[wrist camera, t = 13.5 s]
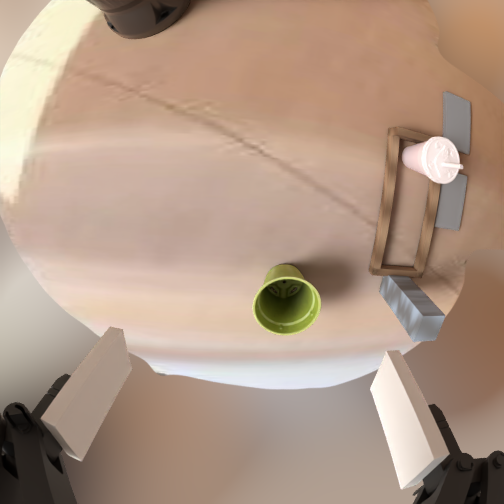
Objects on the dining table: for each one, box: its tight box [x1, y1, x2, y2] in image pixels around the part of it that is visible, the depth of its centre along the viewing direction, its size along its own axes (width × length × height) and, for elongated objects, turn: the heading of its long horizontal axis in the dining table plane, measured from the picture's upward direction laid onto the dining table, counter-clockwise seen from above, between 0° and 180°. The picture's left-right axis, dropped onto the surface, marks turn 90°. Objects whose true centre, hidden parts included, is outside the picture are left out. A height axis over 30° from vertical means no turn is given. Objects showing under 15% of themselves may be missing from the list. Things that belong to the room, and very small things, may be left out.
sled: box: [369, 127, 445, 342], centre depth 33 cm, size 27×10×15 cm, turn 176°
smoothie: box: [402, 137, 463, 184], centre depth 31 cm, size 6×6×14 cm
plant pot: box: [253, 265, 321, 335], centre depth 42 cm, size 9×9×9 cm
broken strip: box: [434, 91, 471, 231], centre depth 36 cm, size 24×6×1 cm, turn 176°
